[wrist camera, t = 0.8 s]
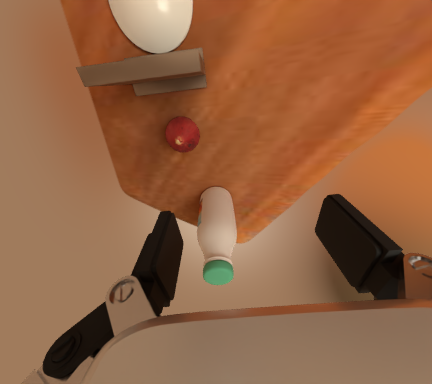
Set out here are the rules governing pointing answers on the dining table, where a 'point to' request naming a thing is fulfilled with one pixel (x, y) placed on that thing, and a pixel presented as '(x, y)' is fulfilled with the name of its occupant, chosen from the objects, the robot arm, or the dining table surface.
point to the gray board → (150, 72)
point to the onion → (182, 134)
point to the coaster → (154, 22)
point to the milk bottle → (217, 234)
